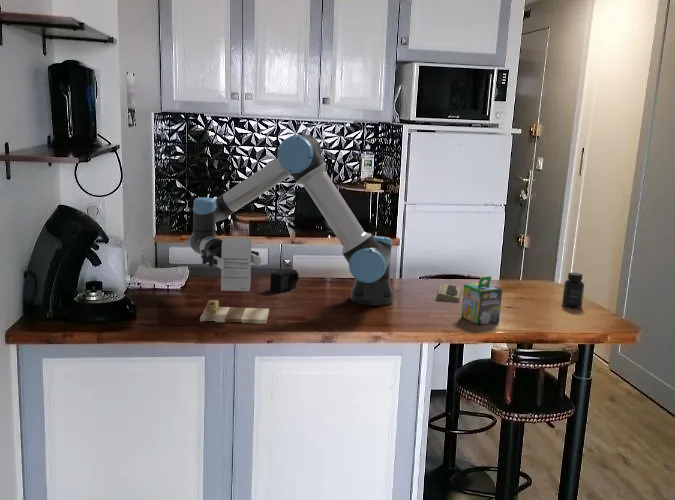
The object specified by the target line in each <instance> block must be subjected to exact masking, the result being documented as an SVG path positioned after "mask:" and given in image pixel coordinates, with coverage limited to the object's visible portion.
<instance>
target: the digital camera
mask: <svg viewBox="0 0 675 500" xmlns="http://www.w3.org/2000/svg"><path fill="white" fill-rule="evenodd" d="M297 271H298V270H297V269H293V268H283V269H281V270H276V271H274V272H271V273H270V284H269V286H270V288H269V289H270V290H269V292H272V293H275V294H282V293H285V292H288V291H291V290H293V289H296V288H297V284H298V281H299V278H300V275H299V273H298V272H297Z"/></svg>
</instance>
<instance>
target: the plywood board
mask: <svg viewBox="0 0 675 500" xmlns="http://www.w3.org/2000/svg"><path fill="white" fill-rule="evenodd" d="M219 305H220V303H219V300H215V299H213V300H212V299H210V300H208V302H207V304H206V305H205V308H204V310H203V311H202V314H201V315H200V317H199V321H200V322H203V321H215V322H214V323H231V322H242V323H241V324H260V325H261V324H263V325H264V324H265V325H267V321H268V318H269V317H268V316H269V314H270V313H269V312H270V308H263V307H262V308H259V307H256V308H255V307H232V306H231V307H229V306H219Z"/></svg>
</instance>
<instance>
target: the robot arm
mask: <svg viewBox="0 0 675 500" xmlns="http://www.w3.org/2000/svg"><path fill="white" fill-rule="evenodd" d="M326 167H327V163H326V162H325V160H324V158H323V157H322V147H321V145H320V143H319V141H318V140H317V139H316V138H315V137H314V136H311V135H308V134H293V135H290V136H289V137H287V138H285V139H284V140H282V142H281V143H280V145H279V146H278V150H277V158H276V159H274V160H273V161H271V162H270V163H268V164H266V165H264V166H263V167H262V168H261V169H258V170H257V171H256V172H254V173H253V174H251V175H249V176H248V177H247V178H245V179H243V180H242V181H241V182H239V183H238V184H236V185H235V186H233V187H231V188H230V189H229V190H228V191H226V192H224V193H223V194H221V195H219V196H218V197H216V198H212V197H196V198H194V200H193V207H192V211H193V212H192V214H193V215H192V216H193V217H192V218H193V222H192V224H193V225H192V233H191V235H190V236H189V240H188V242H189V243H188V244H189V246H190V248H191V249H192V250H193V251H194V252H195V253H197V254H199V255H200V259H202V265H206V264H207V263H208V267H211V268H212V267H213V266H215V267H217V268H218V269H220V270H221V269H224V260H223V259H221V255H222V241H223V239H220V238H218V237H217V236H216V228H217V227H216V224H217V223H218V222H220V221H224V220H226V219H228V218H229V216H231V215H232V214H234V213H235V212H237V211H238V210H240V209H241V208H243V207H244V206H246V205H247V204H249V203H251V202H252V201H253V200H255V199H257V198H259V197H260V196H261V195H264V194H265V193H267V191H269V190H271V189H272V188H274V187H275V186H277V185H278V184H280V183H282V182H283V181H284V180H286V179H288V178H290V177H292V179H293V180H294V181H295V183H296V184H297V185H298V184H299V185H302V186H303V187H304V188H305V190H306V192H307V193H308V194H309V197H310V198H311V199H312V200H313V203H314V204H315V205H316V207H317V209H318V210H319V211H320V213H321V215H322V216H323V218H324V219H325V221H326V222H327V224H328V226H329V227H330V228H331V230H332V231H333V233H334V235H335V237H336V238H337V239H338V241H339V242H340V244H341V246H342V250H341V254H342V255H343V257H344V259H345V260H346V262H347V263H348V269H349V272H350V274H351V276H352V277H353V278H354V279H355V281H354V282H353V286H352V288H351V291H350V295H349V298H350V299H349V300H350V301H351V302H353V303H355V304H359V305H365V306H373V307H374V306H375V307H376V306H378V307H379V306H387V305H390V304H392V303H393V302H394V294H393V288H392V286H391V280H390V274H391V259H392V256H391V255H392V248H393V241H392V238H390V237H387V236H381V235H380V236H379V235H373V234H372V233H370V232H366V231H365V230H364V228H363V227H362V225H361V224H360V223H359V221H358V219H357V217H356V216H355V214H354V213H353V211H352V210H351V208H350V207H349V205H348V204H347V202H346V200H345V199H344V198H343V196H342V195H341V192H340V191H339V190H338V189H337V188H338V187H336V185H335V184H334V182H333V181H332V179H331V177H330V176H329V174H328V172H327V171H326ZM251 264H253V265H255V266H257V267H261V265H262V257H261V256H260V252H258V251H255V250H251Z"/></svg>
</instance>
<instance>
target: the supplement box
mask: <svg viewBox="0 0 675 500" xmlns="http://www.w3.org/2000/svg"><path fill="white" fill-rule="evenodd" d="M222 240H223V241H222V255H221V259H223V260H224V269H220V271H221V272H220V274H221V275H220V291H223V292H224V291H226V292H228V291H230V292H250V291H251V279H252V278H251V275H252V263H251V251H252V238H251V237H250V238H249V237H248V238H247V237H229V236H228V237H223V238H222Z"/></svg>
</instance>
